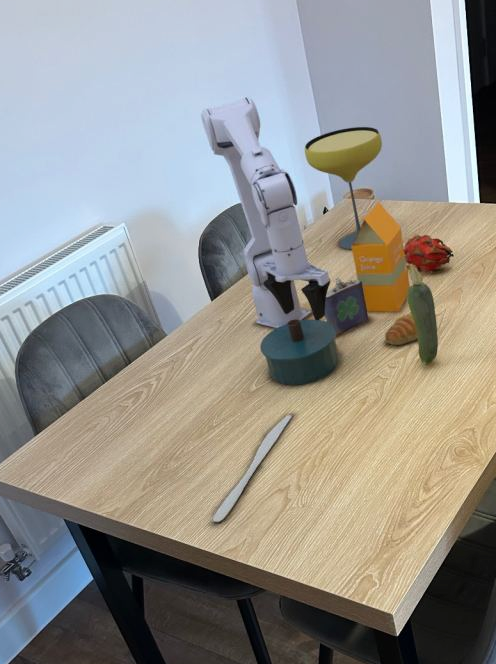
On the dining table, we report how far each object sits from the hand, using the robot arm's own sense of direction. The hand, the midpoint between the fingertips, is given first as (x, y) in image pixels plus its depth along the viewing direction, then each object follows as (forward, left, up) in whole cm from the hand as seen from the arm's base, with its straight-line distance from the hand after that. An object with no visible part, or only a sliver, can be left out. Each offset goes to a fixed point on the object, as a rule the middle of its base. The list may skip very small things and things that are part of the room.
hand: (304, 314), depth 139 cm
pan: (-1, -2, -10) cm, 11 cm away
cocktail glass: (-28, +50, -10) cm, 59 cm away
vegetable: (+22, +7, -10) cm, 25 cm away
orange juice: (-1, +25, -10) cm, 27 cm away
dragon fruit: (-1, +41, -10) cm, 43 cm away
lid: (-1, -2, -5) cm, 5 cm away
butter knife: (+12, -29, -10) cm, 33 cm away
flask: (-2, +13, -11) cm, 17 cm away
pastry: (+12, +15, -10) cm, 22 cm away
